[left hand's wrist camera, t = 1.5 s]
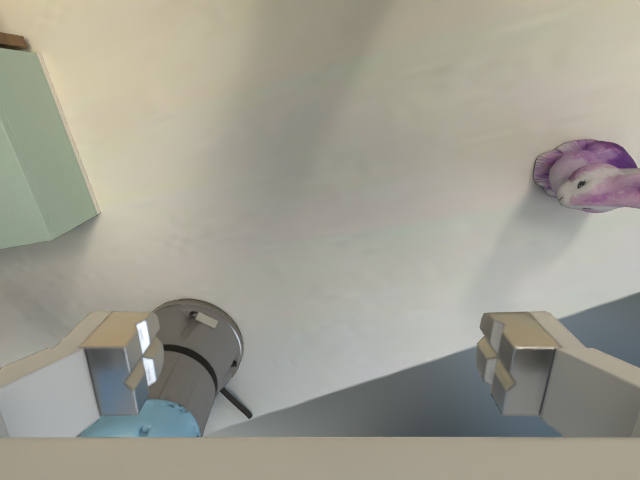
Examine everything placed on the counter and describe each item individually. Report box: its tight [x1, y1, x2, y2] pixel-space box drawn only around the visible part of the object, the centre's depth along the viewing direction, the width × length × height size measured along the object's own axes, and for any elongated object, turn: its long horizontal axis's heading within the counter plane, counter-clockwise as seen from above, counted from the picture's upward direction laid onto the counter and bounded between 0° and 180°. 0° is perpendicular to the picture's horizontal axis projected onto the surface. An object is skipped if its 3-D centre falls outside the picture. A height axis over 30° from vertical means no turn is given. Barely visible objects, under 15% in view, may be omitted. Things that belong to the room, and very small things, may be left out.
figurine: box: [533, 139, 640, 213], centre depth 46 cm, size 9×10×15 cm
